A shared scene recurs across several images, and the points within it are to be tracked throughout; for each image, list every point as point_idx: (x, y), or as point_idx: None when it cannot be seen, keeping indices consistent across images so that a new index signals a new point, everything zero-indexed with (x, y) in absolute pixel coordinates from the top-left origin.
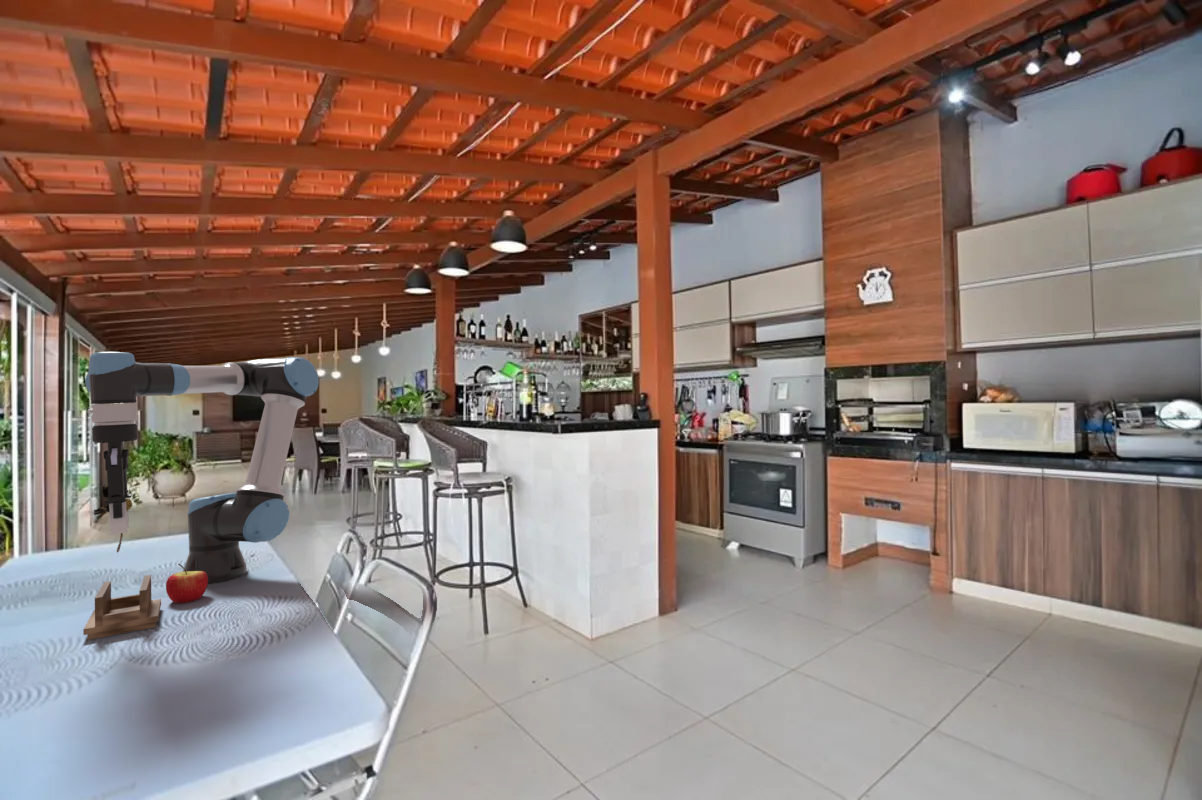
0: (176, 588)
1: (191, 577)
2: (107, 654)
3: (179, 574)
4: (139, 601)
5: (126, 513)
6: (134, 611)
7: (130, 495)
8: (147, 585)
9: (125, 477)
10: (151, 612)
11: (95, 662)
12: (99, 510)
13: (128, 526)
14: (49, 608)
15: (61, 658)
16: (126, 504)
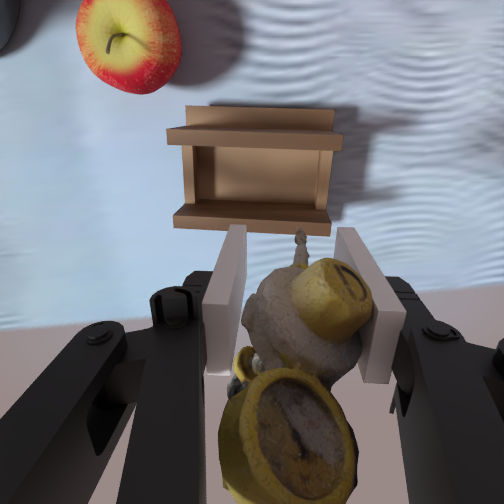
0: (174, 67)
1: (159, 20)
2: (414, 186)
3: (118, 55)
4: (196, 149)
5: (361, 267)
6: (332, 155)
7: (186, 299)
8: (294, 134)
9: (188, 496)
10: (296, 122)
11: (442, 200)
12: (235, 377)
13: (245, 228)
14: (48, 283)
15: (370, 245)
16: (368, 295)
